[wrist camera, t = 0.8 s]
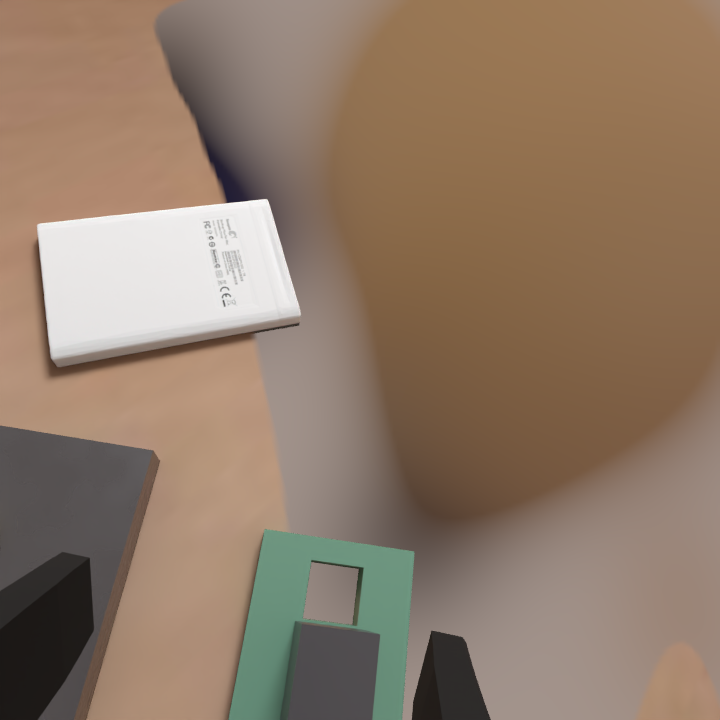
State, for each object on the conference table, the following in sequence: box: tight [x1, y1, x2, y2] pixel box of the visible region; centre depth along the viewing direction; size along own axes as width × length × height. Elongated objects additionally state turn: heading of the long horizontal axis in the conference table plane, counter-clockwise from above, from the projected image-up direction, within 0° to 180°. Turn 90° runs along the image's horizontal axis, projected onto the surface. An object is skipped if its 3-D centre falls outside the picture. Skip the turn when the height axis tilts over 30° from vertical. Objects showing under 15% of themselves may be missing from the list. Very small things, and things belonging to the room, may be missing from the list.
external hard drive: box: [37, 199, 301, 367], centre depth 29 cm, size 2×8×12 cm
